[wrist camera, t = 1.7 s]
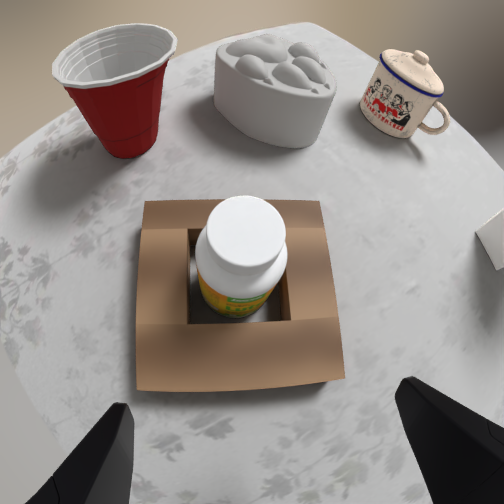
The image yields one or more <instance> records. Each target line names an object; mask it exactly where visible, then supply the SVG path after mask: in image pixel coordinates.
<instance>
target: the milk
mask: <svg viewBox="0 0 504 504" xmlns="http://www.w3.org/2000/svg"><path fill="white" fill-rule="evenodd" d="M476 234H477V235H478V237H479V239H480V241H481V242H482V244H483V246H484V248H485V250H486V252H487V253H488V255H489V257H490V259H491V261H492V263H493V265H494V267H495V269H496V271H498V270H499V269H501V268H503V267H504V208H502V209H501V210H500V211H499V212H497V213H496V214H495V215H493V216H492V217H491V218H490V219H489V220H488V221H487V222H485V223H484V224H483V225H482V226H481V227H480V228H479V229H477V230H476Z"/></svg>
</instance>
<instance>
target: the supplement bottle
mask: <svg viewBox="0 0 504 504" xmlns="http://www.w3.org/2000/svg"><path fill="white" fill-rule="evenodd" d="M285 237H286V230H285V224H284V222H283V219H282V217H281V215H280V214H279V212H278V211H277V210H276V209H275V208H274V207H273V206H272V205H271V204H269V203H268V202H266V201H264V200H262V199H260V198H257V197H253V196H235V197H231V198H228V199H226V200H224V201H222V202H221V203H219V204H218V205H217V206H216V207H215V208H214V209H213V211H212V212H211V214H210V215H209V218H208V220H207V224H206V226H205V227H204V228H203V230H202V231H201V233H200V235H199V237H198V240H197V243H196V250H195V258H196V266H197V272H198V278H199V284H200V290H201V293H202V296H203V298H204V300H205V302H206V303H207V305H208V306H209V307H210V308H211V309H212V310H214V311H215V312H216V313H218V314H220V315H222V316H225V317H230V318H240V317H245V316H248V315H250V314H252V313H254V312H255V311H257V310H258V309H259V308H260V307H261V306H262V305H263V304H264V302H265V301H266V299H267V298H268V296H269V295H270V293H271V292H272V290H273V289H274V287H275V286H276V284H277V283H278V281H279V280H280V278H281V276H282V274H283V272H284V270H285V267H286V263H287V247H286V243H285Z"/></svg>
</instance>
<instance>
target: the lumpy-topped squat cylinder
mask: <svg viewBox="0 0 504 504" xmlns="http://www.w3.org/2000/svg"><path fill="white" fill-rule="evenodd" d="M336 88H337V85H336V79H335V77H334V75H333V73H332V72H331V70H330V69H329V68H328V66H327V65H326V64H325V63H324V62H323V61H321V60H320V59H319V56H318V53H317V52H316V50H315V49H314V48H313V47H312V46H311V45H309V44H306V43H302V42H299V43H295V44H294V43H292V42H290V41H287V40H285V39H283V38H279V37H276V36H274V35H271V34H264V35H260V36H256V37H253V38H250V39H242V40H238V41H235V42H232V43H227V44H224V45H221V46H220V47H219V48H218V49H217V51H216V59H215V80H214V105H215V107H216V109H217V110H218V111H219V112H220V113H221V114H222V115H223V116H224V117H225V118H226V119H227V120H228V121H229V122H230V123H231V124H232V125H233V126H235V127H236V128H237V129H238V130H240V131H241V132H242V133H244V134H245V135H247V136H249V137H251V138H253V139H256V140H258V141H261V142H264V143H267V144H271V145H274V146H278V147H285V148H304V147H308V146H310V145H312V144H313V143H314V142H315V141H316V140H317V137H318V135H319V133H320V130H321V128H322V125H323V123H324V120H325V118H326V115H327V113H328V110H329V108H330V106H331V103H332V101H333V98H334V96H335V93H336Z"/></svg>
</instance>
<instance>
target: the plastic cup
mask: <svg viewBox="0 0 504 504" xmlns="http://www.w3.org/2000/svg"><path fill="white" fill-rule="evenodd" d="M176 44H177V38H176V37H175V35H174V34H173V33H172V32H171V31H170V30H167V29H165V28H163V27H160V26H158V25H150V24H141V23H135V24H124V25H116V26H112V27H108V28H104V29H101V30H97V31H95V32H92V33H90V34H88V35H86V36H84V37H82V38H80V39H78V40H76V41H74V42H73V43H72V44H70V45H69V46H68V47H67V48H65V49H64V50H63V51H61V52H60V54H59V55H58V57H57V58H56V60H55V61H54V62H53V64H52V76H53V77H54V78H55V79H56V80H57V81H58V82H60V83H61V84H62V85H63V86H64V88H65V90H67V91H68V93H69V95H70V97H71V98H72V99H73V100H74V101H75V103H76V105H77V107H78V108H79V110H80V112H81V113H82V115H83V116H84V118H85V120H86V121H87V123H88V124H89V126H90V127H91V129H92V131H93V132H94V134H95V135H97V136H98V138H99V140H100V141H101V143H102V144H103V146H104V147H105V149H106V150H107V151H108V152H109V153H111V154H112V155H113V156H114V157H118V158H122V159H124V158H133V157H136V156H138V155H141V154H143V153H144V152H146V151H147V150H148V149H150V148H151V147H152V145H153V144H154V142H155V141H156V137H157V133H158V123H159V113H160V106H161V96H162V87H163V79H164V73H165V69H166V67H167V63H168V61H169V58H170V57H171V56H172V55H173V54H174V52H175V49H176Z"/></svg>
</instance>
